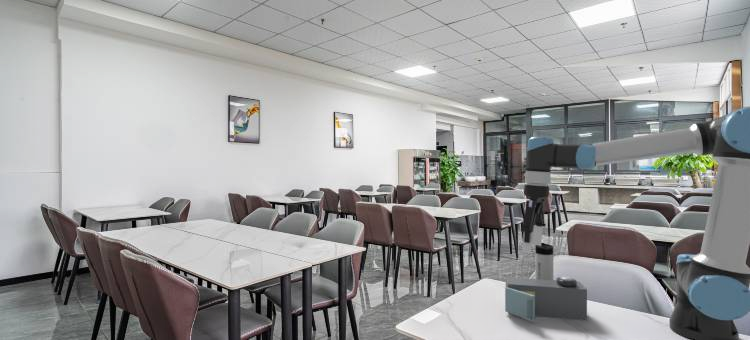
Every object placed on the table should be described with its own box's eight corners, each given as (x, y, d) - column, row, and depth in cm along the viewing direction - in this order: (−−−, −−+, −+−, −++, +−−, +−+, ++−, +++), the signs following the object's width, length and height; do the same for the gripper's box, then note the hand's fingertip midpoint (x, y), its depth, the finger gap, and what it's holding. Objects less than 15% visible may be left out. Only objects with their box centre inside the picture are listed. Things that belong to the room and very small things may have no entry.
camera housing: (579, 310, 124) (579, 275, 123) (587, 320, 116) (586, 283, 116) (505, 304, 130) (505, 271, 130) (508, 313, 122) (507, 277, 122)
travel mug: (549, 293, 140) (549, 242, 140) (556, 299, 134) (556, 246, 134) (532, 293, 141) (532, 242, 141) (538, 299, 134) (538, 246, 134)
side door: (503, 312, 121) (503, 288, 121) (507, 310, 122) (507, 287, 122) (531, 322, 112) (531, 296, 112) (534, 320, 114) (534, 295, 114)
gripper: (533, 182, 130) (529, 240, 131) (514, 184, 110) (509, 253, 111) (556, 184, 125) (552, 244, 126) (540, 187, 105) (535, 258, 106)
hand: (532, 248), depth 119 cm, fingers open, 13 cm apart
